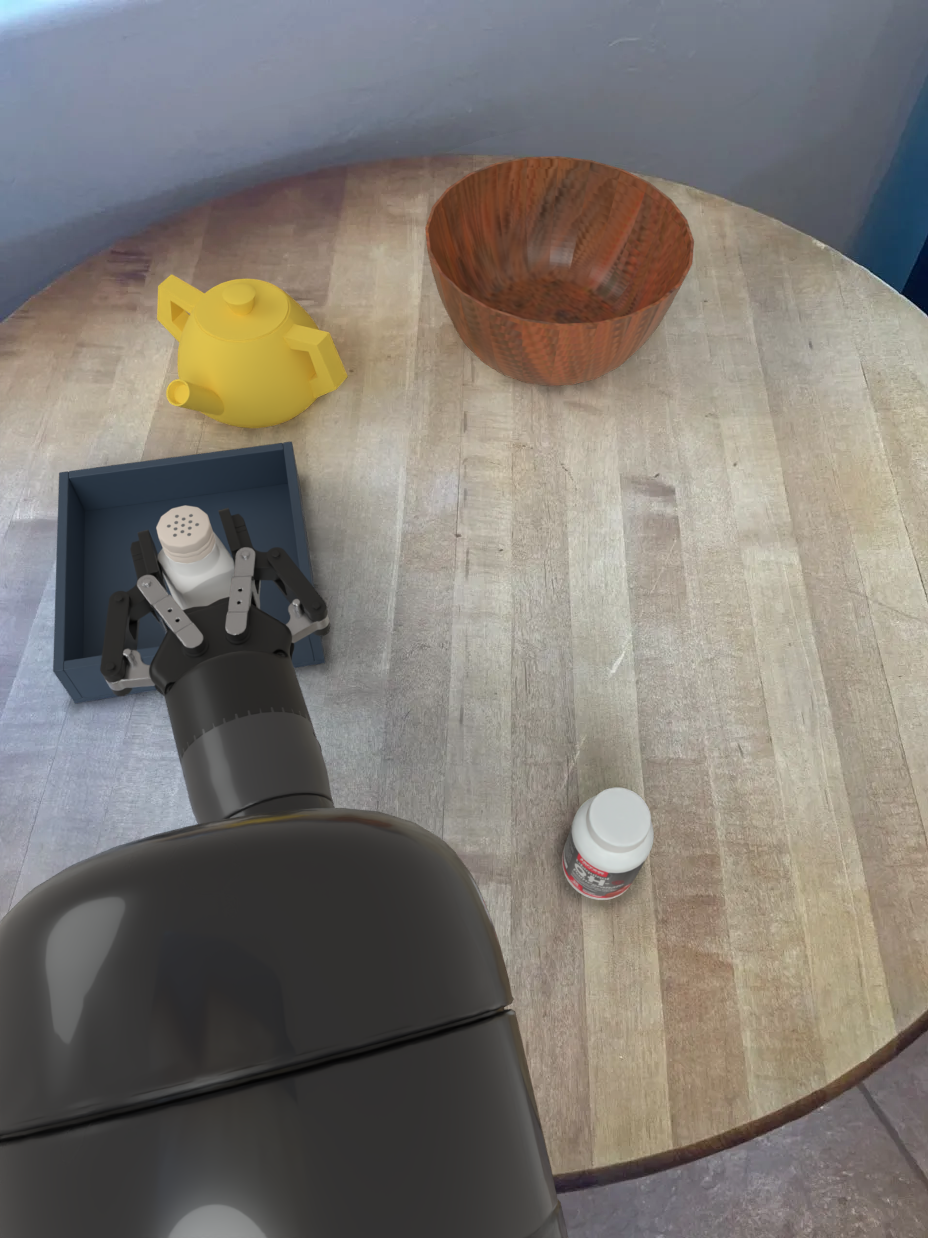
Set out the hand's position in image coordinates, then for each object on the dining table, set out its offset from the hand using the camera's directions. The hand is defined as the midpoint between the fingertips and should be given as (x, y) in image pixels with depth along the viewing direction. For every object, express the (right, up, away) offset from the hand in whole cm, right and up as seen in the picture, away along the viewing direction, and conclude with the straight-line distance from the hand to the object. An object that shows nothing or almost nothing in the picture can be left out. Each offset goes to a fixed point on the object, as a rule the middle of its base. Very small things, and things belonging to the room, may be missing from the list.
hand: (186, 528), depth 62 cm
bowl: (+27, +24, +37) cm, 51 cm away
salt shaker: (+1, -6, +4) cm, 7 cm away
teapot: (-3, +15, +31) cm, 35 cm away
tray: (-5, -3, +19) cm, 20 cm away
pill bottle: (+28, -24, +7) cm, 37 cm away
